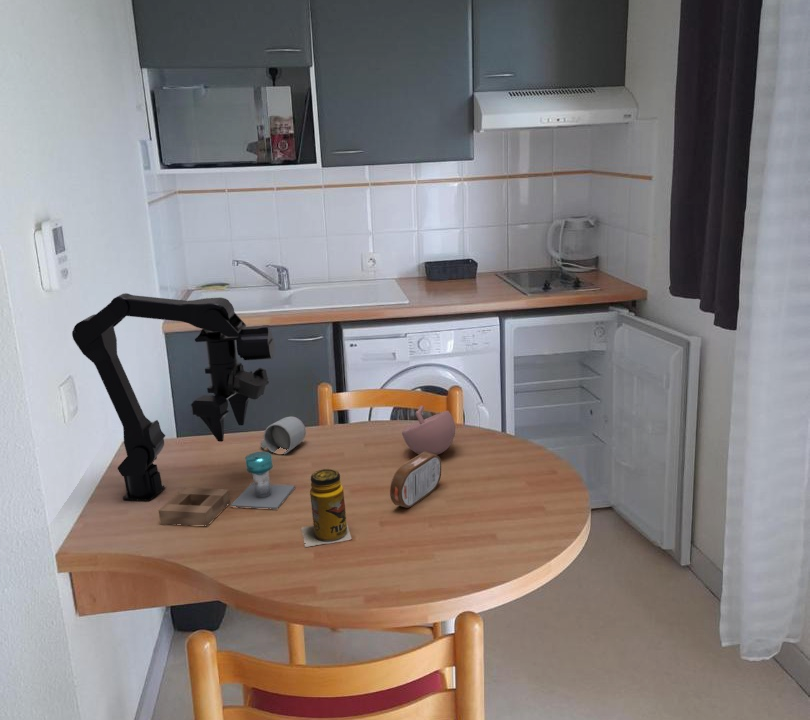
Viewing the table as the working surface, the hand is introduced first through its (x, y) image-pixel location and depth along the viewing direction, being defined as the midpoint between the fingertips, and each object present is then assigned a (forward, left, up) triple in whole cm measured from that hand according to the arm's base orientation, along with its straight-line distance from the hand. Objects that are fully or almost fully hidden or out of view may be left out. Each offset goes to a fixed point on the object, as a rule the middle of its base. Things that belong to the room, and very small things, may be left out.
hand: (231, 433), depth 155 cm
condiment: (+25, -17, -13) cm, 33 cm away
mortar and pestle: (+37, +21, -13) cm, 45 cm away
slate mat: (+7, -4, -13) cm, 15 cm away
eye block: (-4, -12, -13) cm, 18 cm away
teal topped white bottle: (+7, -4, -12) cm, 15 cm away
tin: (+39, -1, -13) cm, 41 cm away
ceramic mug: (+1, +22, -13) cm, 25 cm away
